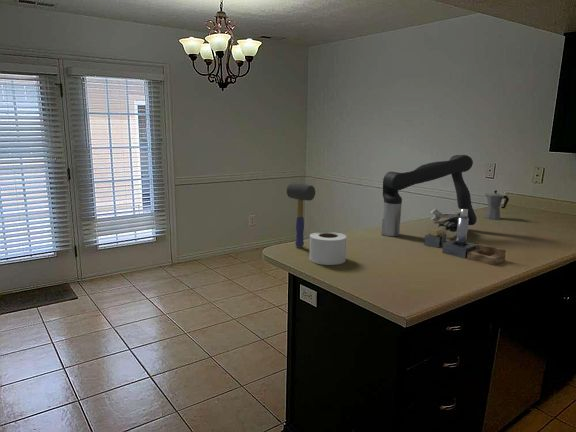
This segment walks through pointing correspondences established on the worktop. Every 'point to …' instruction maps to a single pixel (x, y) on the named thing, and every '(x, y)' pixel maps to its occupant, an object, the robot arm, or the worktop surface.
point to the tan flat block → (438, 231)
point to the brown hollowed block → (487, 255)
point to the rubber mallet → (300, 206)
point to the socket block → (458, 249)
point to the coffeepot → (495, 205)
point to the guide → (435, 240)
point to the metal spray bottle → (462, 228)
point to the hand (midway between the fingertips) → (443, 228)
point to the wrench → (441, 215)
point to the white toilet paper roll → (327, 248)
